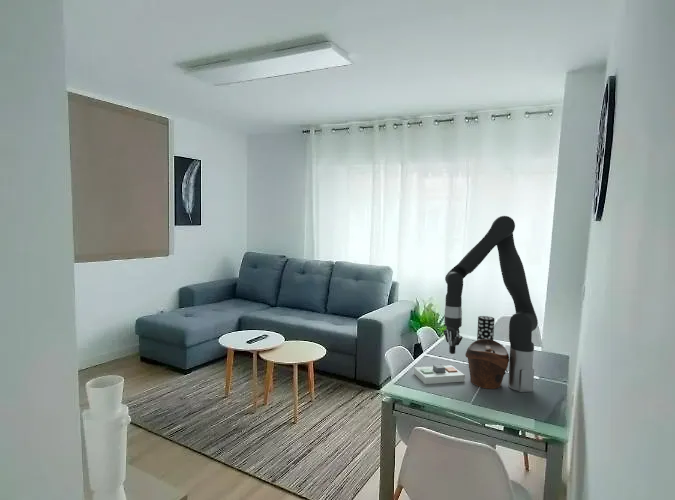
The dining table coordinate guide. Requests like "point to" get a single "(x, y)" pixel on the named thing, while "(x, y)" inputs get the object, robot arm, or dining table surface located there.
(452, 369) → the key terracotta
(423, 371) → the key sage
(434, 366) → the key charcoal
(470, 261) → the robot arm
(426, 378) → the keypad board
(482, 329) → the white-spotted black cylinder
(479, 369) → the brown wooden rounded tub
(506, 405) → the dining table surface
